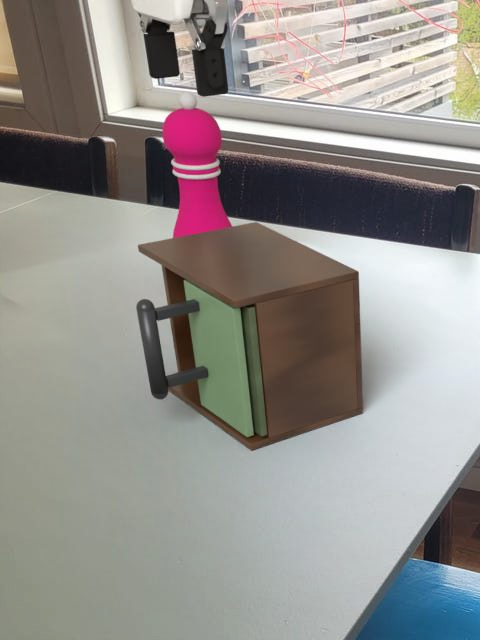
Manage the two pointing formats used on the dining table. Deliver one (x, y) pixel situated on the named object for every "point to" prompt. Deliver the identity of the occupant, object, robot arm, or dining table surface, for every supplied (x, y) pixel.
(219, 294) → the cupboard
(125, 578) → the dining table surface
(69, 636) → the dining table surface
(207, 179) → the pepper mill
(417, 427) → the dining table surface
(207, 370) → the closet door
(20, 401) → the dining table surface
